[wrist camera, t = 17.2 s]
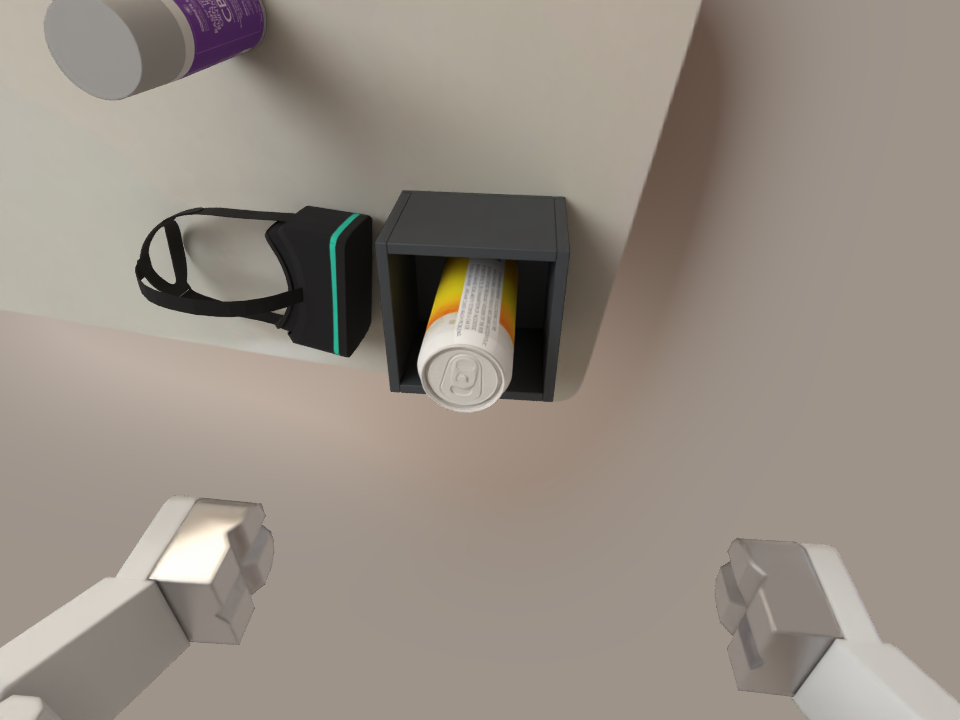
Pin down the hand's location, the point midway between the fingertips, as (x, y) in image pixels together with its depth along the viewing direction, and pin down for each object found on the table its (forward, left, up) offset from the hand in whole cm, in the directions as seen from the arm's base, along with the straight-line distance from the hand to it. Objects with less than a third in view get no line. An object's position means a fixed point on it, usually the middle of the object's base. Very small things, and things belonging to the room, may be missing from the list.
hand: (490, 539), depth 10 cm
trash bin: (+3, +14, -37) cm, 40 cm away
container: (+20, -4, -37) cm, 43 cm away
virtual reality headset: (+21, +14, -37) cm, 45 cm away
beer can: (+3, +14, -37) cm, 39 cm away
